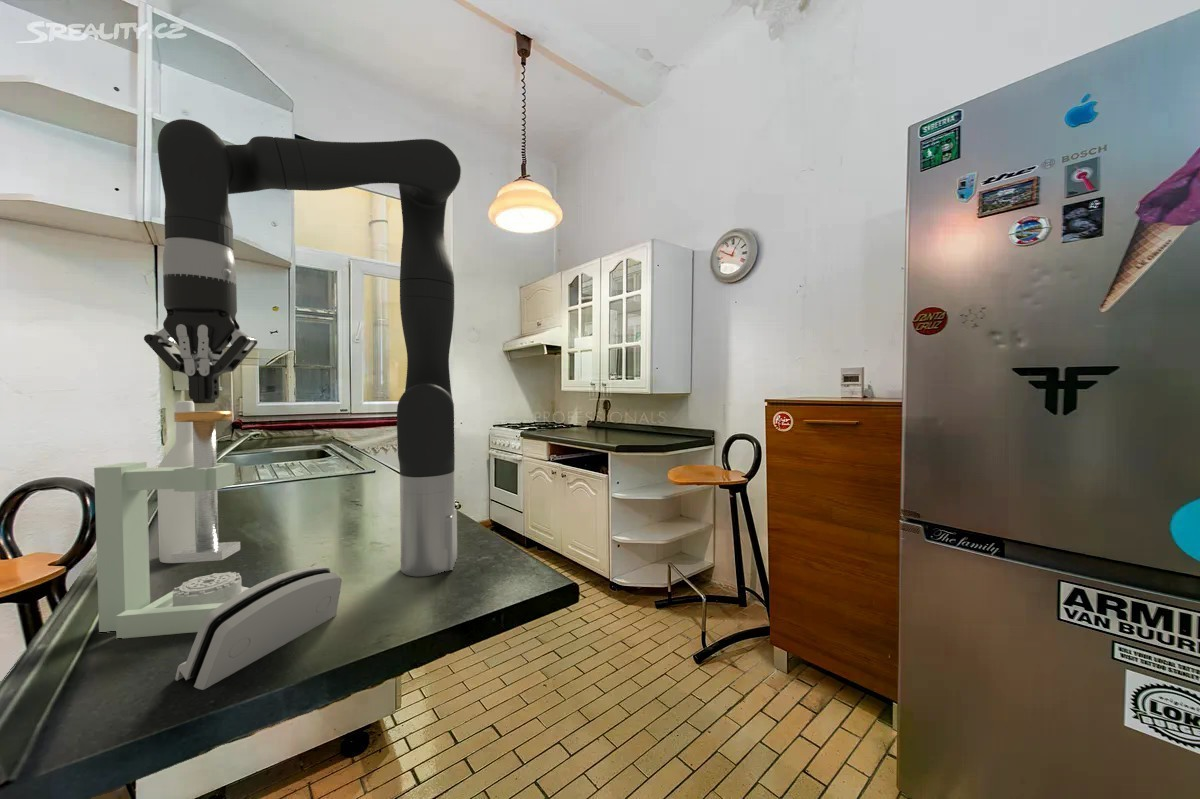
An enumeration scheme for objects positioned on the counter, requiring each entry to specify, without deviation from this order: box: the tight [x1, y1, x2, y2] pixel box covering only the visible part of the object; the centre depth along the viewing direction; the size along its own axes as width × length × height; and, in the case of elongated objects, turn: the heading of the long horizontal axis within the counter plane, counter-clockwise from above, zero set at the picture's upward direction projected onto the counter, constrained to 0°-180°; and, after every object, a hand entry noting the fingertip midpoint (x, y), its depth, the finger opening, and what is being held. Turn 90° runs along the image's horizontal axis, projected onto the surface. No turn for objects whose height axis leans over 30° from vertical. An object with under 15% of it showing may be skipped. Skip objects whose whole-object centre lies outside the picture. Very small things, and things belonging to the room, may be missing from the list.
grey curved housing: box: [174, 565, 343, 691], centre depth 55 cm, size 17×5×10 cm, turn 162°
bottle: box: [156, 400, 196, 564], centre depth 85 cm, size 8×8×30 cm
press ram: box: [171, 410, 241, 564], centre depth 61 cm, size 6×6×20 cm
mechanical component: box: [167, 571, 250, 607], centre depth 64 cm, size 10×4×10 cm
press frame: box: [93, 461, 236, 639], centre depth 64 cm, size 20×14×22 cm
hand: (204, 403), depth 61 cm, fingers closed
